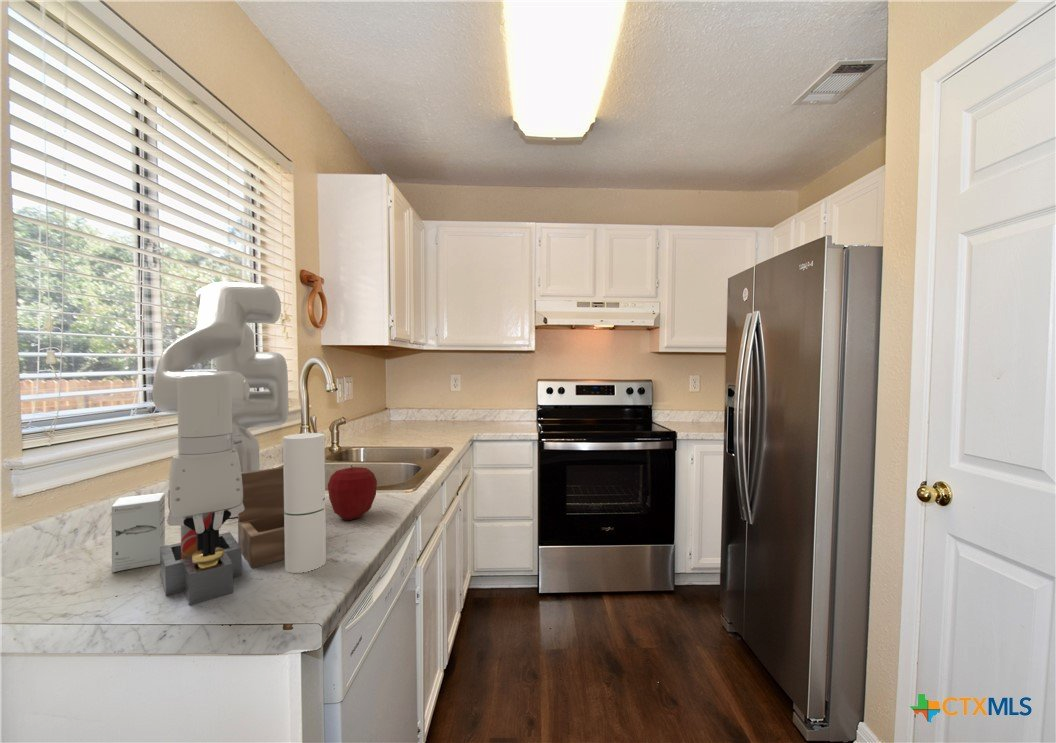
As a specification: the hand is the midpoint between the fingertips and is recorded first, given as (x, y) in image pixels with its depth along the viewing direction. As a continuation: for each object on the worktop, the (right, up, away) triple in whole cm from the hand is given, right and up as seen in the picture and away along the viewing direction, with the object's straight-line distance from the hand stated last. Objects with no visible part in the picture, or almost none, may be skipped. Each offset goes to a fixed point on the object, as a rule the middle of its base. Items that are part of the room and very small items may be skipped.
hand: (208, 552), depth 77 cm
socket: (-4, -7, +4) cm, 9 cm away
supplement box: (-22, -7, +12) cm, 26 cm away
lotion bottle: (-6, -7, +7) cm, 11 cm away
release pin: (0, -6, 0) cm, 6 cm away
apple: (+10, -6, +38) cm, 40 cm away
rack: (+2, -7, +17) cm, 18 cm away
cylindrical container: (+11, -7, +11) cm, 17 cm away
